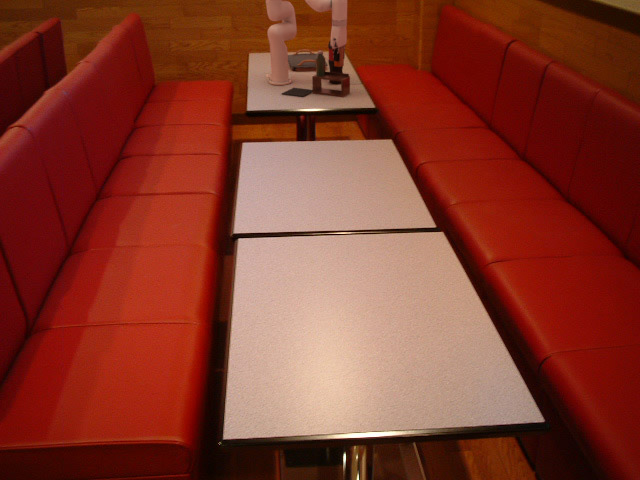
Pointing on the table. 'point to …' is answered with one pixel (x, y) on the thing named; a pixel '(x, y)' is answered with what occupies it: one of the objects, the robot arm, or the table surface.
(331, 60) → the cola bottle
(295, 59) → the grey briefcase
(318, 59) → the green bottle
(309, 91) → the rubber mat
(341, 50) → the amber bottle
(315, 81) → the frame
